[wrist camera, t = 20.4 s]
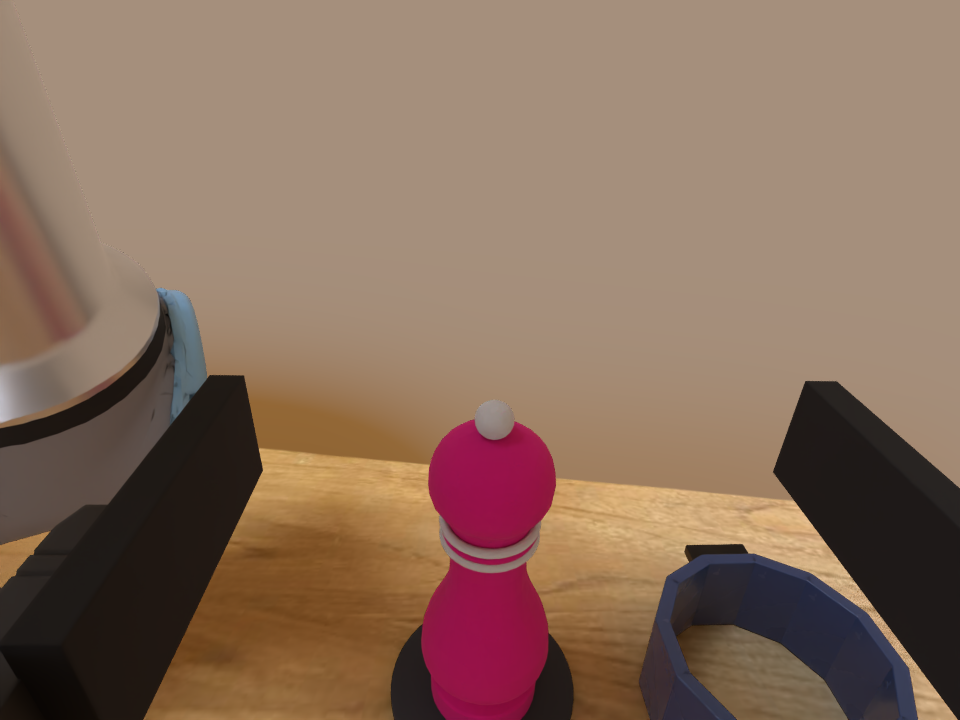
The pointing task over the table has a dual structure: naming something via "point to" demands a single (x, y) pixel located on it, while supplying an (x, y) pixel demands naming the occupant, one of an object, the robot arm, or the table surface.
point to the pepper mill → (488, 567)
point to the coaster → (421, 715)
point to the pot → (770, 635)
